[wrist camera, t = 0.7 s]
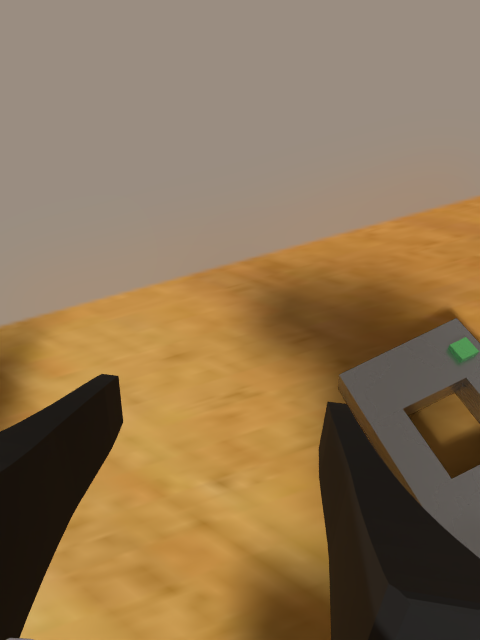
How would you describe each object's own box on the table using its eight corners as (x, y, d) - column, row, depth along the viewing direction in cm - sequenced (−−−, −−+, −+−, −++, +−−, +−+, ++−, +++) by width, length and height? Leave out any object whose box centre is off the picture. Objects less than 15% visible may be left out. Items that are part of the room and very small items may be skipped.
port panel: (588, 498, 22) (622, 489, 20) (449, 570, 22) (466, 571, 19) (446, 336, 29) (458, 314, 26) (338, 389, 28) (339, 371, 26)
